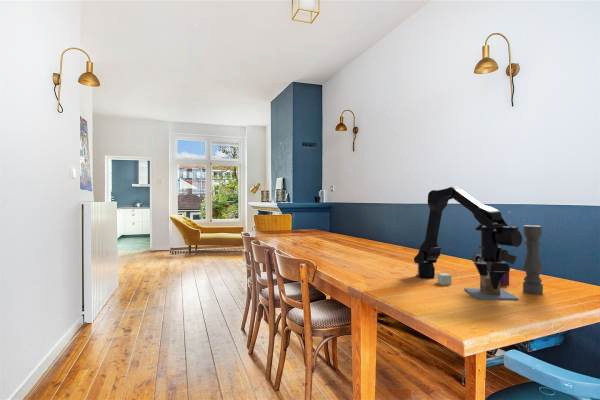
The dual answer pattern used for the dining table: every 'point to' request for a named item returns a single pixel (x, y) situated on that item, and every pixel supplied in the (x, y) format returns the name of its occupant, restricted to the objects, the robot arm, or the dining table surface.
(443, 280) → the sage block
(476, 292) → the placemat
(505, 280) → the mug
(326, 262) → the dining table surface
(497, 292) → the walnut block
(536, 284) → the candle holder
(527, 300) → the dining table surface
